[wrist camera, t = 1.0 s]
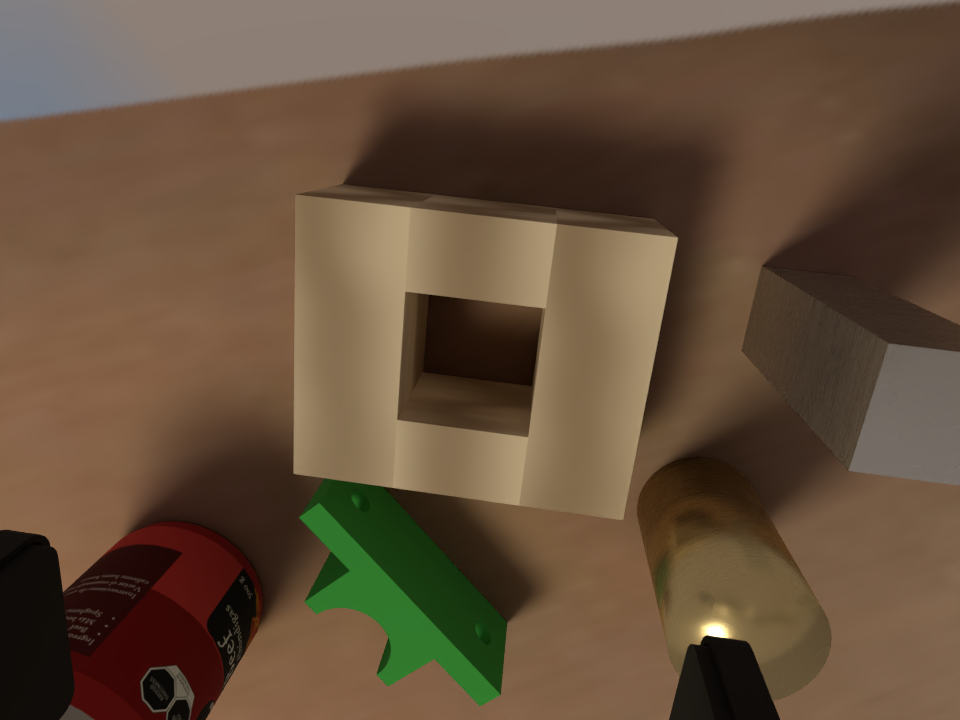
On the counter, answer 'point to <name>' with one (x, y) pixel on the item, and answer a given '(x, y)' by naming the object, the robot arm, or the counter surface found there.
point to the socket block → (466, 401)
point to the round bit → (728, 573)
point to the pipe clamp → (403, 588)
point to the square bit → (861, 371)
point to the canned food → (160, 624)
